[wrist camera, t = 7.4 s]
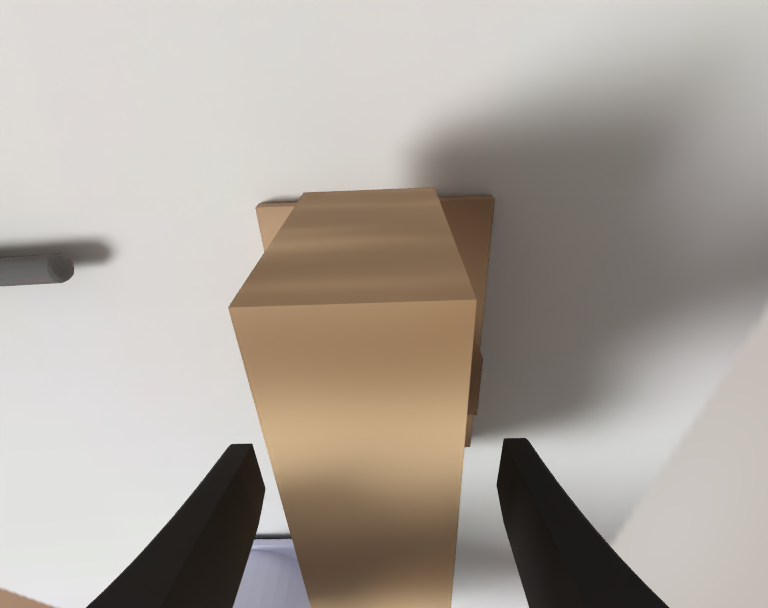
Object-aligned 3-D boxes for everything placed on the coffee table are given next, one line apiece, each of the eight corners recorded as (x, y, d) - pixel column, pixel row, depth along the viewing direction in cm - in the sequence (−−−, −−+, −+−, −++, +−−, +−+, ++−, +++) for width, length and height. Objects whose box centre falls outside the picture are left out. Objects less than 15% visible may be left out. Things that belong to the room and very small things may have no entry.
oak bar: (428, 507, 18) (444, 687, 13) (348, 508, 18) (332, 688, 13) (434, 187, 11) (476, 299, 6) (303, 192, 11) (227, 307, 6)
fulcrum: (468, 438, 20) (480, 494, 17) (306, 442, 20) (294, 497, 18) (491, 194, 14) (515, 224, 11) (259, 203, 14) (230, 234, 12)
